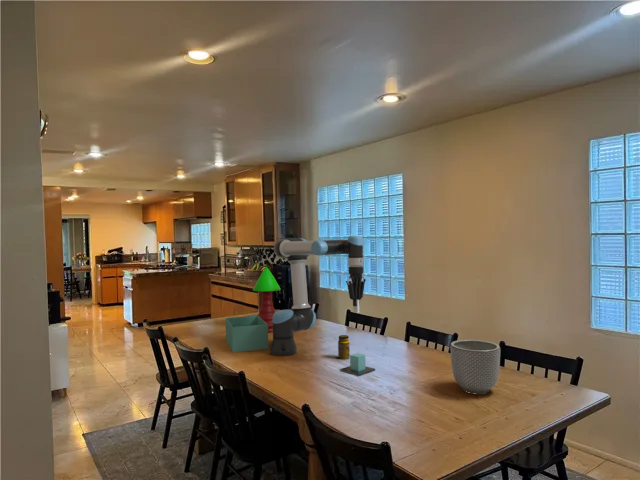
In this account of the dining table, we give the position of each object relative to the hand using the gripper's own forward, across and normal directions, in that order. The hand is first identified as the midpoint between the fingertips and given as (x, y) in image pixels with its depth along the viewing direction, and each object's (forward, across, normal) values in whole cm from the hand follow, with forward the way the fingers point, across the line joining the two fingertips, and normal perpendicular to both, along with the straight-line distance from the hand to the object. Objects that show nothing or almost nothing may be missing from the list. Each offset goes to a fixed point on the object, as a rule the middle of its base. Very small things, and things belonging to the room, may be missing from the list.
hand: (356, 312), depth 226 cm
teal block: (+26, -8, -7) cm, 28 cm away
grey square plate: (+26, -8, -7) cm, 28 cm away
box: (+27, -12, +78) cm, 84 cm away
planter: (+27, +4, -61) cm, 67 cm away
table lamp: (+27, +23, +102) cm, 108 cm away
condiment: (+27, +3, +13) cm, 30 cm away
